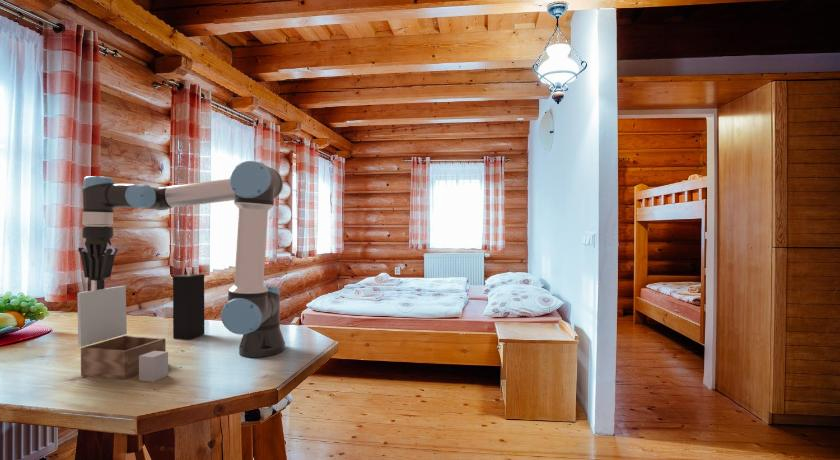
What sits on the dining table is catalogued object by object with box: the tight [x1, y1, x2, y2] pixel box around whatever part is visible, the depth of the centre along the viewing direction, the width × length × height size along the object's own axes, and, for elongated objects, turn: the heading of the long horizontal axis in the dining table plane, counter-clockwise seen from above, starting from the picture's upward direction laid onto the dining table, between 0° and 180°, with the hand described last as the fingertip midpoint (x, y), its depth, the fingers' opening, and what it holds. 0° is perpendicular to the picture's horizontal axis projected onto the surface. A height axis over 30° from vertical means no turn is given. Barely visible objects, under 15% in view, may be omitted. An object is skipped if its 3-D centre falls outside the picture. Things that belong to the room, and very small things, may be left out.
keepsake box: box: [80, 335, 167, 380], centre depth 123 cm, size 16×14×8 cm
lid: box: [76, 285, 128, 348], centre depth 124 cm, size 16×14×1 cm
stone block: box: [138, 351, 169, 383], centre depth 116 cm, size 5×5×7 cm
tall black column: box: [172, 266, 205, 340], centre depth 159 cm, size 8×8×28 cm
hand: (97, 300), depth 125 cm, fingers closed
